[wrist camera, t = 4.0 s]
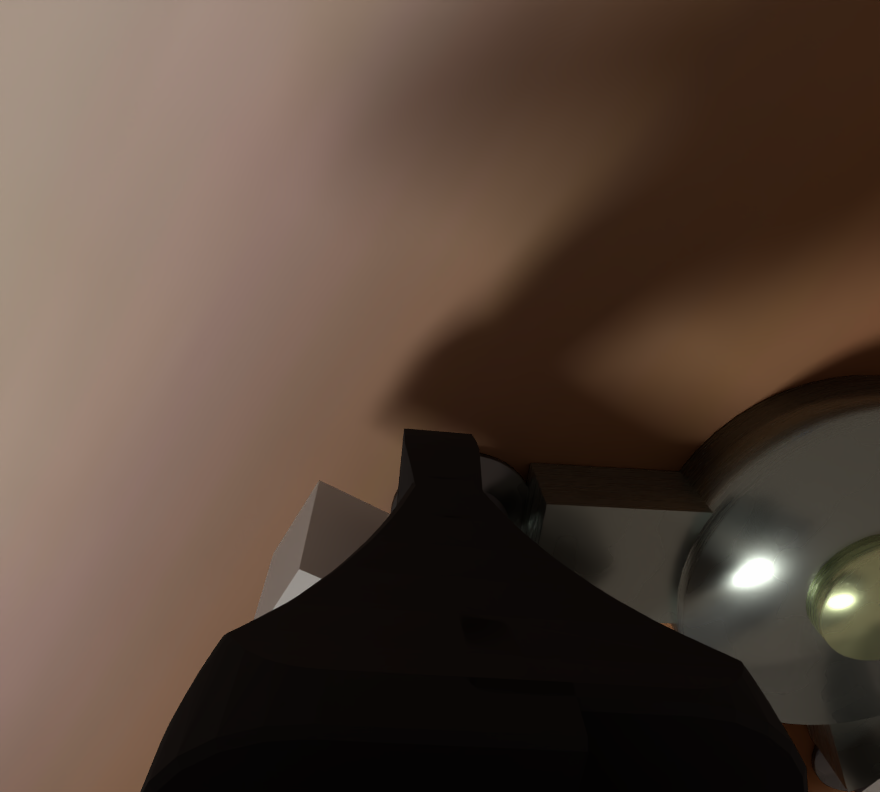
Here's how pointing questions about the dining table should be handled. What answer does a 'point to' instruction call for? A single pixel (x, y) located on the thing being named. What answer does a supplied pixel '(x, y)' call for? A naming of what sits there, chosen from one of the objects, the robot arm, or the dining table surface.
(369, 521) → the post
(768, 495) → the levelling base
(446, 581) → the robot arm
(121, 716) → the dining table surface
